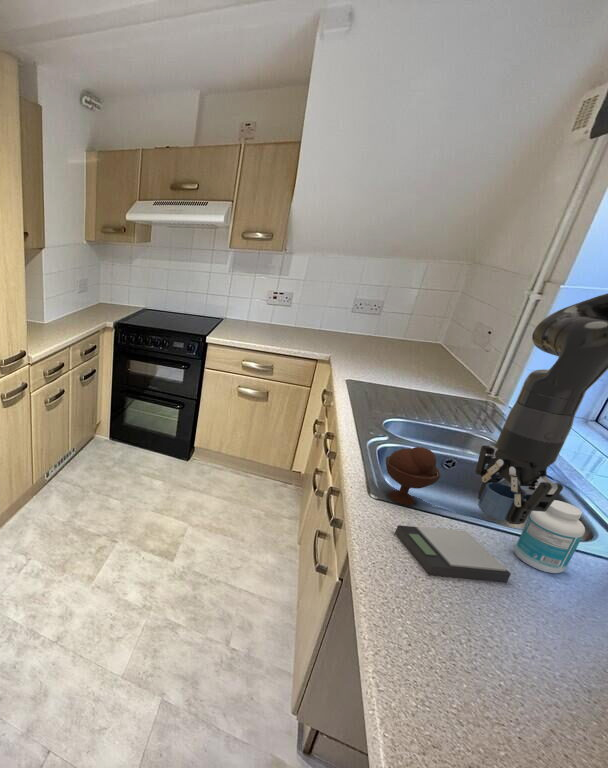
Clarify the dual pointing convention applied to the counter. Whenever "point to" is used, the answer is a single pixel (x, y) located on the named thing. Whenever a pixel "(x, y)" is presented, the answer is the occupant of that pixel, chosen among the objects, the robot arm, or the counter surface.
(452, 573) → the kitchen scale
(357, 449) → the counter surface
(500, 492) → the blue cup
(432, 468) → the ice cream bowl
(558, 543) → the pill bottle
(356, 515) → the counter surface
